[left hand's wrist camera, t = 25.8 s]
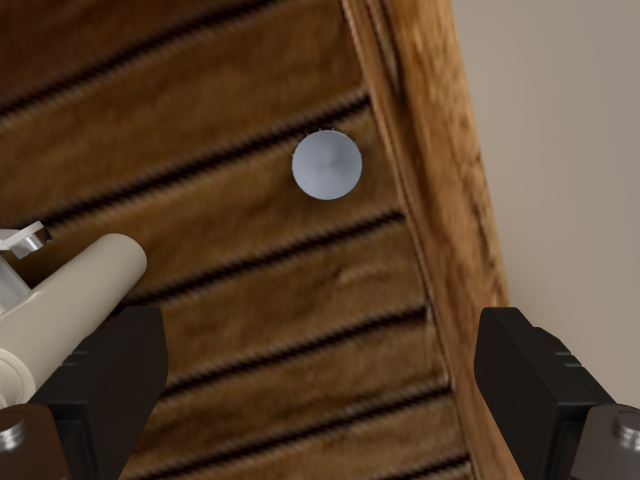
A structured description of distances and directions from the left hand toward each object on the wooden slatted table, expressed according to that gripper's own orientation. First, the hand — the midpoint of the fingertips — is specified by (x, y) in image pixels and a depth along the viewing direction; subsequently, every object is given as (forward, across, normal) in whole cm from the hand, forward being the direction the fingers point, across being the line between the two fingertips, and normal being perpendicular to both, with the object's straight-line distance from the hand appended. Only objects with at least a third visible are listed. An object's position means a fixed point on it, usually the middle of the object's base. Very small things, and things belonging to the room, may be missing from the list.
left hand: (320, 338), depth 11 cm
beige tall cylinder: (+24, +16, +8) cm, 29 cm away
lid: (+21, 0, 0) cm, 21 cm away
